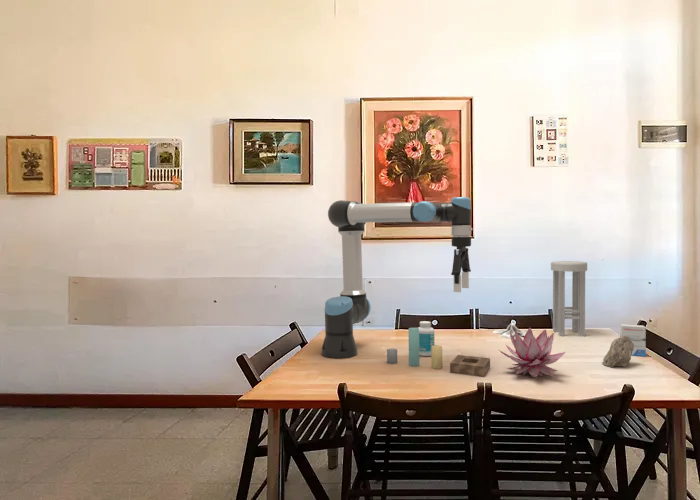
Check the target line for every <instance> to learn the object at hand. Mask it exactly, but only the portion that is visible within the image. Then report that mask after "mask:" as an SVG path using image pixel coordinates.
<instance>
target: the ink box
mask: <svg viewBox="0 0 700 500" xmlns="http://www.w3.org/2000/svg"><path fill="white" fill-rule="evenodd" d="M619 327H620V331H619V332H620V336H619V338H620V337H621V336H628V337H629V339H630V340H631V341H632V342H633V344H634V349H633V351H632V355H631V357H632V356H633V357H634V356H636V357H646V353H647V352H646V349H647V346H646V345H647V344H646V343H647V341H646V339H647V336H646V335H647V331H646V330H647V329H646V327H645V325H641V324H640V325H637V324H624V323H621V324H620V326H619Z"/></svg>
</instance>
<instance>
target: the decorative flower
mask: <svg viewBox="0 0 700 500" xmlns="http://www.w3.org/2000/svg"><path fill="white" fill-rule="evenodd" d="M517 329H518V328H517ZM517 329H516V328H515V338H514V337H513V335H512V333H511V331H510V337H511V338H510V340H511V343H512V345H513V347H514V349H512V348H511V347H510V346H508V344H505V346H506V348H507V350H508V351H509V353H511V355H509V354H507V353H505V352H503V351H501V350H500V349H498V351H499V352H500V353H501V354H502V355H504V356H506V357H507V358H509V359H510V360H511V361H513V362H515V363H511V365H512V366H514V367H506V369H508V370H514V369H518V370H517V371H516V372H515V373H514V374H515V375H518V374H522V373H523V374H522V376H525V375H526V374H528V372H529V374H530V376H532V378H537V377H538V376H540V377H543V375H542V374H544V375H546V376H550V377H551V376H552V377H554V375H553V373H552V372H558V370H557V369H555V368H552V367H549V366H548V365H551V364H553V363H556V362H558V360H560V359H561V358H562V357H563V356H564V355H565V354H566V351H563V352H559V353H554V354H551V353H552V348H553V347H552V346H553V343H554V336H555V332H552V333H551V335H550V336H549V335H548V332H547V329H544V330H543V331H541V333H540V334H539V335H538V336H537V337H536V336H535V337H534V336H533V330H532V328H531V327H528V329H527V331H526V332H527V333H526V334H525V336H524V337H523V339H522V337H521V336H519V335H518V332H517ZM514 350H515V351H514Z"/></svg>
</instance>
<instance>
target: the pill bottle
mask: <svg viewBox="0 0 700 500" xmlns="http://www.w3.org/2000/svg"><path fill="white" fill-rule="evenodd" d="M417 328H419V357H432V356H431V346H433V345H435V329H434V328H433V327H432V321H426V320H423V321H419V327H417Z"/></svg>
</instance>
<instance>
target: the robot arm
mask: <svg viewBox="0 0 700 500" xmlns="http://www.w3.org/2000/svg"><path fill="white" fill-rule="evenodd" d="M471 202H472V201H471V198H470V197H467V196H457V197H451V201H450V202H440V203H439V202H438V203H437V202H431V201H430V202H429V201H427V200H422V201H416V202H412V201H411V202H407V201H406V202H384V203H383V202H381V203H380V202H379V203H361V202H358V201H356V200H355V201H354V200H351V201H350V200H342V199H340V200H337V201H335V202H333V203H331V205H330V206H329V208H328V210H327V217H328V221H329V222H330V224H331V225H333V226H334V227H336V228H338V229H337V230H338V233H339V234H340V236H341V246H342V247H341V249H342V251H341V252H342V254H341V255H342V276H343V277H342V279H343V280H342V282H343V283H342V285H343V289H342V291H341V292H339V295H340V296H335V297H334V296H333V297H331V298H329V299H327V300H326V301H325V302H324V329H325V333H324V334H325V335H324V336H325V337H324V340H323V342H322V346H321V355H322V356H323V357H324V358H331V359H344V358H352V357H354V356H356V355H358V347H357V343H356V341H355V337H354V325H355V324H359V323H361V322H363V321H365V320H366V319H367V318H368V316H369V315H370V313H371V310H372V309H371V308H372V307H371V303H370V300H369V299H368V297H367V291H365V290H364V288H363V287H364V285H363V255H362V253H363V252H362V235H363V234H364V233H365V225H366V223H412V222H413V223H415V222H416V223H417V222H418V223H421V222H422V223H443V222H444V223H446V222H451V236H452V237H451V247H455V249H454V250H453V260H452V262H453V263H452V268H451V269H452V270H451V273H450V275H451V276H453V292H454V293H462V289H469V288H470V285H469V284H470V283H469V282H470V278H469V276H470V272H471V271H472V270H471V266H470V255H469V248H468V247H471V246H472V237H471V235H472V231H473V227H472V203H471Z"/></svg>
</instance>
